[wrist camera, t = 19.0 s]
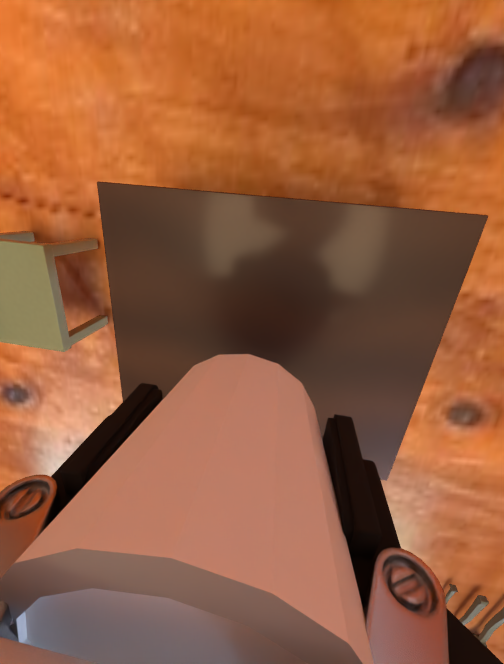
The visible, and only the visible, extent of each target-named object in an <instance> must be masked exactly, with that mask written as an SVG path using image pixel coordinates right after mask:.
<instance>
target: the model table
mask: <svg viewBox="0 0 504 664" xmlns="http://www.w3.org/2000/svg"><path fill="white" fill-rule="evenodd" d="M97 186H98V195H99V203H100V212H101V220H102V228H103V237H104V245H105V254H106V262H107V271H108V279H109V287H110V296H111V304H112V313H113V321H114V330H115V338H116V346H117V355H118V363H119V372H120V380H121V388H122V397H123V402H124V401H125V400H126V398H127V397H128V396H129V395H130V394H131V393H132V392H133V391H134V390H135V389H136V388H137V387H138V385H139V384H141V383H147V384H153V385H157V386H158V389H159V390H162V393H163V399H164V398H165V397H166V396H167V395H168V394H169V392H170V391H171V390H172V389H173V388H174V387H175V386H176V385H177V384H178V383H179V381H180V380H181V379H182V378H183V377H184V376H185V375H186V374H187V373H188V372H189V370H190V369H191V368H192V367H193V366H194V365H196V364H199V363H201V362H203V361H206V360H208V359H210V358H212V357H215V356H217V355H228V354H250V355H253V356H256V357H259V358H262V359H265V360H268V361H271V362H274V363H277V364H279V365H280V366H282V367H283V368H284V369H285V370H286V371H288V372H289V373H290V374H291V375H293V376H294V377H295V378H296V379H298V380H299V381H300V382H301V383H302V384H303V386H304V388H305V390H306V392H307V394H308V396H309V398H310V400H311V402H312V403H313V405H314V408H315V412H316V416H317V421H318V425H319V429H320V433H321V437H322V440H323V436H324V432H325V427H326V423H327V419H328V418H333V417H334V415H335V414H337V415H343V416H349V417H352V419H353V423H354V427H355V431H356V435H357V439H358V443H359V447H360V451H361V454H362V458H363V459H365V460H371V461H373V462H374V463H375V465H376V467H377V471H378V474H379V477H380V479H381V480H387V479H388V476H389V474H390V471H391V469H392V466H393V463H394V461H395V458H396V456H397V453H398V450H399V448H400V445H401V443H402V440H403V437H404V435H405V432H406V430H407V427H408V424H409V422H410V419H411V417H412V414H413V411H414V409H415V406H416V404H417V401H418V398H419V396H420V393H421V390H422V388H423V385H424V383H425V380H426V377H427V375H428V372H429V370H430V367H431V364H432V362H433V359H434V357H435V354H436V351H437V349H438V346H439V344H440V341H441V338H442V336H443V333H444V331H445V328H446V325H447V323H448V320H449V317H450V315H451V312H452V310H453V307H454V304H455V302H456V299H457V297H458V294H459V291H460V289H461V286H462V284H463V281H464V278H465V276H466V273H467V271H468V268H469V265H470V263H471V260H472V258H473V255H474V252H475V250H476V247H477V245H478V242H479V239H480V237H481V234H482V231H483V229H484V226H485V224H486V221H487V218H488V215H479V214H467V213H455V212H444V211H432V210H421V209H409V208H398V207H386V206H374V205H363V204H351V203H340V202H328V201H317V200H305V199H293V198H282V197H270V196H259V195H247V194H236V193H224V192H212V191H201V190H189V189H178V188H166V187H155V186H143V185H131V184H120V183H108V182H97Z"/></svg>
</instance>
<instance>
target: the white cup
mask: <svg viewBox="0 0 504 664" xmlns="http://www.w3.org/2000/svg"><path fill="white" fill-rule="evenodd" d="M0 600H2V601H4V602H5V603H7V604H8V606H9V610H10V614H11V616H12V619H13V622H14V624H12V625H11V627H12V629H13V631H14V633H15V635H16V637H17V639H18V641H19V642H21V643H24V644H28V645H32V646H35V647H39V648H43V649H47V650H50V651H54V652H58V653H61V654H65V655H69V656H72V657H76V658H80V659H84V660H87V661H91V662H94V663H98V664H374V661H373V657H372V653H371V649H370V645H369V641H368V636H367V632H366V628H365V624H366V620H365V615H364V611H363V607H362V603H361V599H360V595H359V590H358V586H357V582H356V578H355V574H354V570H353V566H352V561H351V557H350V553H349V549H348V545H347V541H346V537H345V535H344V533H343V529H342V524H341V519H340V514H339V508H338V503H337V499H336V495H335V491H334V487H333V483H332V479H331V474H330V470H329V466H328V462H327V458H326V454H325V450H324V445H323V441H322V437H321V433H320V429H319V425H318V421H317V416H316V412H315V408H314V405H313V403H312V402H311V400H310V398H309V396H308V394H307V392H306V390H305V388H304V386H303V384H302V383H301V382H300V381H299V380H298V379H296V378H295V377H294V376H293V375H291V374H290V373H289V372H288V371H286V370H285V369H284V368H283V367H282V366H280V365H279V364H277V363H274V362H271V361H268V360H265V359H262V358H259V357H256V356H253V355H250V354H228V355H217V356H215V357H212V358H210V359H208V360H206V361H203V362H201V363H199V364H196V365H194V366H193V367H192V368H191V369H190V370H189V372H188V373H187V374H186V375H185V376H184V377H183V378H182V379H181V380H180V381H179V383H178V384H177V385H176V386H175V387H174V388H173V389H172V390H171V391H170V392H169V394H168V395H167V396H166V397H165V398H164V399H163V400H162V401H161V402H160V403H159V404H158V406H157V407H156V408H155V409H154V410H153V411H152V412H151V413H150V414H149V415H148V417H147V418H146V419H145V420H144V421H143V422H142V423H141V424H140V425H139V426H138V428H137V429H136V430H135V431H134V432H133V433H132V434H131V435H130V436H129V437H128V439H127V440H126V441H125V442H124V443H123V444H122V445H121V446H120V447H119V448H118V450H117V451H116V452H115V453H114V454H113V455H112V456H111V457H110V458H109V459H108V460H107V462H106V463H105V464H104V465H103V466H102V467H101V468H100V469H99V470H98V471H97V473H96V474H95V475H94V476H93V477H92V478H91V479H90V480H89V481H88V482H87V484H86V485H85V486H84V487H83V488H82V489H81V490H80V491H79V492H78V493H77V495H76V496H75V497H74V498H73V499H72V500H71V501H70V502H69V503H68V504H67V506H66V507H65V508H64V509H63V510H62V511H61V512H60V513H59V514H58V515H57V516H56V518H55V519H54V520H53V521H52V522H51V523H50V524H49V525H48V526H47V527H46V529H45V530H44V531H43V532H42V533H41V534H40V535H39V536H38V537H37V538H36V540H35V541H34V542H33V543H32V544H31V545H30V546H29V547H28V548H27V549H26V551H25V552H24V553H23V554H22V555H21V556H20V557H19V558H18V559H17V560H16V562H15V563H14V564H13V565H12V566H11V567H10V569H9V570H8V571H7V572H6V573H5V574H4V576H3V577H2V578H1V579H0Z"/></svg>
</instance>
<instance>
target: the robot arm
mask: <svg viewBox="0 0 504 664" xmlns="http://www.w3.org/2000/svg"><path fill="white" fill-rule="evenodd" d="M162 400H163V393H162V390H159V389H158V386H157V385H153V384H147V383H141V384H139V385H138V387H137V388H136V389H135V390H134V391H133V392H132V393H131V394H130V395H129V396H128V397H127V398H126V400H125V401H124V402H123V403H122V404H121V405H120V406H119V407H118V408H117V409H116V410H115V411H114V413H113V414H112V415H110V416H108V417H107V418H106V419H105V420H104V421H103V422H102V423H101V424H100V425H99V426H98V427H97V428H96V429H95V430H94V431H93V432H92V433H91V435H90V436H89V437H88V438H87V439H86V440H85V441H84V442H83V443H82V444H81V445H80V446H79V447H78V448H77V449H76V451H75V452H74V453H73V454H72V455H71V456H70V457H69V458H68V459H67V460H66V461H65V462H64V463H63V464H62V466H61V467H60V468H59V469H58V470H57V471H56V472H55V473H54V474H53V475H52V476H51V477H50V476H47V475H33V476H29V477H25V478H23V479H20V480H18V481H16V482H14V483H12V484H11V485H9V486H7V487H6V488H5V489H4V490H2V491H1V492H0V579H1V578H2V577H3V576H4V574H5V573H6V572H7V571H8V570H9V569H10V567H11V566H12V565H13V564H14V563H15V562H16V560H17V559H18V558H19V557H20V556H21V555H22V554H23V553H24V552H25V551H26V549H27V548H28V547H29V546H30V545H31V544H32V543H33V542H34V541H35V540H36V538H37V537H38V536H39V535H40V534H41V533H42V532H43V531H44V530H45V529H46V527H47V526H48V525H49V524H50V523H51V522H52V521H53V520H54V519H55V518H56V516H57V515H58V514H59V513H60V512H61V511H62V510H63V509H64V508H65V507H66V506H67V504H68V503H69V502H70V501H71V500H72V499H73V498H74V497H75V496H76V495H77V493H78V492H79V491H80V490H81V489H82V488H83V487H84V486H85V485H86V484H87V482H88V481H89V480H90V479H91V478H92V477H93V476H94V475H95V474H96V473H97V471H98V470H99V469H100V468H101V467H102V466H103V465H104V464H105V463H106V462H107V460H108V459H109V458H110V457H111V456H112V455H113V454H114V453H115V452H116V451H117V450H118V448H119V447H120V446H121V445H122V444H123V443H124V442H125V441H126V440H127V439H128V437H129V436H130V435H131V434H132V433H133V432H134V431H135V430H136V429H137V428H138V426H139V425H140V424H141V423H142V422H143V421H144V420H145V419H146V418H147V417H148V415H149V414H150V413H151V412H152V411H153V410H154V409H155V408H156V407H157V406H158V404H159V403H160V402H161V401H162ZM322 441H323V445H324V450H325V454H326V458H327V462H328V466H329V470H330V474H331V479H332V483H333V487H334V491H335V495H336V499H337V503H338V508H339V514H340V519H341V524H342V529H343V533H344V535H345V537H346V541H347V545H348V549H349V553H350V557H351V561H352V566H353V570H354V574H355V578H356V582H357V586H358V590H359V595H360V599H361V603H362V607H363V611H364V615H365V620H366V624H365V628H366V632H367V636H368V641H369V645H370V649H371V653H372V657H373V661H374V664H503V663H502V662H501V661H500V660H499V659H498V658H497V657H496V656H495V655H494V654H493V653H492V652H491V651H490V650H489V649H488V648H487V647H486V646H485V645H483V644H482V643H481V642H480V641H479V640H478V639H477V638H476V637H475V636H474V635H473V634H472V633H471V632H470V631H469V630H468V629H467V628H466V627H465V626H464V625H463V624H462V623H461V622H460V621H459V620H458V619H457V618H456V617H455V616H454V615H453V614H452V613H451V612H450V611H449V610H448V609H447V608H446V600H445V595H444V591H443V589H442V587H441V584H440V582H439V580H438V579H437V577H436V576H435V574H434V573H433V572H432V570H431V569H430V568H429V567H428V566H427V565H426V564H425V563H424V562H423V561H422V560H421V559H420V558H418V557H417V556H415V555H414V554H412V553H411V552H409V551H406V550H404V549H401V547H400V544H399V540H398V537H397V534H396V530H395V527H394V524H393V521H392V517H391V514H390V511H389V507H388V504H387V501H386V497H385V494H384V491H383V487H382V484H381V481H380V477H379V474H378V471H377V467H376V465H375V463H374V462H373V461H371V460H365V459H363V458H362V454H361V451H360V447H359V443H358V439H357V435H356V431H355V427H354V423H353V419H352V417H349V416H343V415H337V414H335V415H334V417H333V418H328V419H327V423H326V427H325V432H324V436H323V440H322ZM12 624H14V622H13V619H12V616H11V614H10V610H9V606H8V604H7V603H5V602H4V601H2V600H0V664H98V663H94V662H91V661H87V660H84V659H80V658H76V657H72V656H69V655H65V654H61V653H58V652H54V651H50V650H47V649H43V648H39V647H35V646H32V645H28V644H24V643H21V642H19V641H18V639H17V637H16V635H15V633H14V631H13V629H12V627H11V625H12Z"/></svg>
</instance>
